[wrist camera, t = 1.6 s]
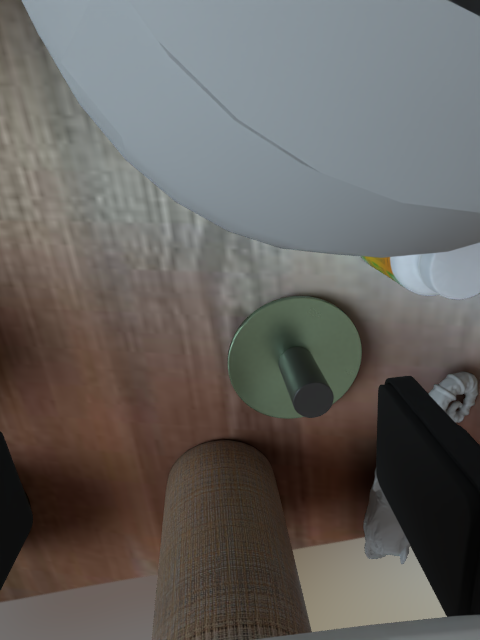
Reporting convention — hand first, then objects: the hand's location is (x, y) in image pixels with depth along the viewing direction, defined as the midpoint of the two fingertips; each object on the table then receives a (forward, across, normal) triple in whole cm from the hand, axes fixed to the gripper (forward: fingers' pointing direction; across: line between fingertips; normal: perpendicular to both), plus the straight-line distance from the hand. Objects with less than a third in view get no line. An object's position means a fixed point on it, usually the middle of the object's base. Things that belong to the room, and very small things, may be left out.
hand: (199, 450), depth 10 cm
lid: (+21, -6, +9) cm, 23 cm away
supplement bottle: (+22, -13, -1) cm, 26 cm away
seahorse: (+21, -21, +12) cm, 32 cm away
